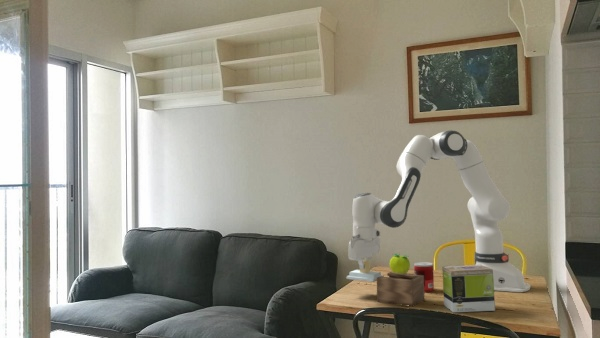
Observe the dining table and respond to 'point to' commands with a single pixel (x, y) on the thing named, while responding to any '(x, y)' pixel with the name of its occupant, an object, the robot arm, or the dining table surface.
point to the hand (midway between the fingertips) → (364, 268)
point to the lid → (364, 273)
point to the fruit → (399, 264)
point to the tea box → (468, 288)
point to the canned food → (425, 274)
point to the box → (400, 289)
